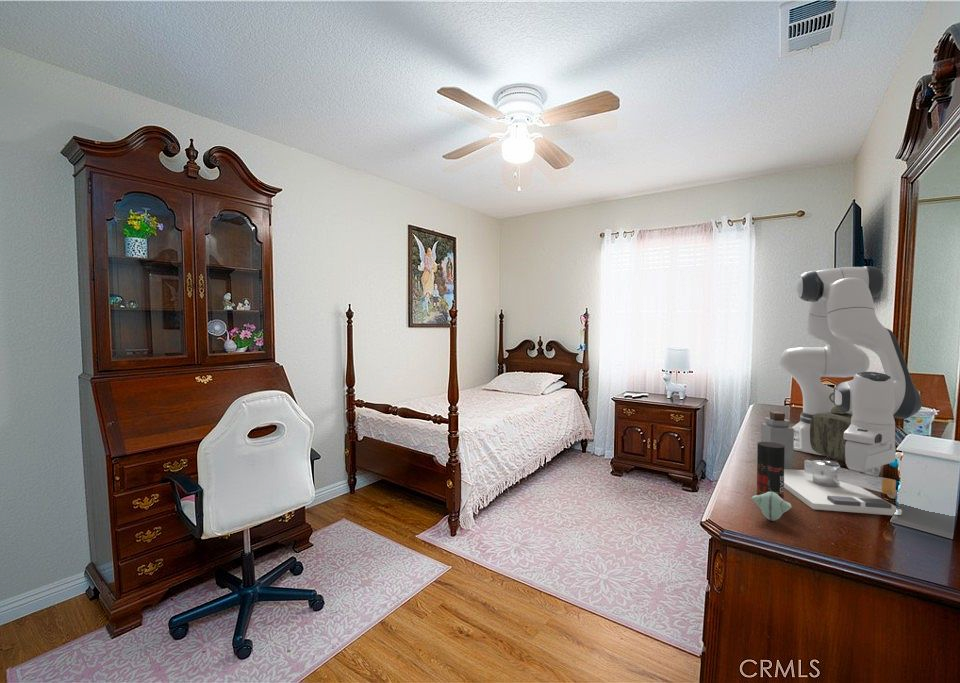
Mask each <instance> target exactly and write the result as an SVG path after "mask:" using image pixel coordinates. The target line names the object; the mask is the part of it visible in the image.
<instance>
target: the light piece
mask: <svg viewBox="0 0 960 683" xmlns="http://www.w3.org/2000/svg"><path fill="white" fill-rule="evenodd" d="M803 465H804V467H803V468H804V469H803V470H804V472H806V473H809V474H812V481H813V482H814V483H817V484H820V485H824V486H830V487H838V486H840V482H844V483H848V484H852V485H856V486H859V487H861V488H863V489H866V490H867V489H868V490H871V491H876V492H879V493H882V494H885V495H889V496H895V495H896V492H897V490H896V487H897V479H894V478H893V479H892V478H887V477H883V476H882V477H881V476H879V475H878V476H874V475H870V474H866V473H864V472H860V471H855V470H851V469H849V468H844V467H841V465H840V464H839V462H838V461H837V462H836V461H834V460H831V459H830V460H824V459H823V460H821V459H816V460H815V459H814V460H809V459H805V460H804V464H803Z"/></svg>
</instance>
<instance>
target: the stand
mask: <svg viewBox="0 0 960 683" xmlns="http://www.w3.org/2000/svg"><path fill="white" fill-rule="evenodd" d="M784 490H787V491H788V492H789V493H790V494H792V495H794V497H796V499H799V500H800V501H802V502H803V504H805V505H807V507H809V508H811V509H812V510H817V511H819V510H820V511H821V510H822V511H832V512H833V511H834V512H845V513H846V512H847V513H857V514H870V515H871V514H873V515H884V516H885V515H886V516H894V515H893V514H894V513H895V512H896V509H897V508H896V507H897V506H896V505H894V504H893V503H890V502H888V501H887V500H885V499H884V498H882V497H879V496H878V495H876V494H874V493H873V492H871V491H868V490H867V489H866V488H863V487H859V486H856V485H852V484H848V483H844V482H840V486H838V487H830V486H824V485H820V484H817V483H814V482H813V481H812V474H809V473H806V472H804V469H793V470H792V469H784Z"/></svg>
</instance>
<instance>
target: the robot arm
mask: <svg viewBox="0 0 960 683" xmlns="http://www.w3.org/2000/svg"><path fill="white" fill-rule="evenodd" d="M884 285H885V278H884V274H883V272H882V270H881V269H880V268H878V267H875V266H869V265H867V266H866V265H864V266H843V267H842V266H841V267H839V266H838V267H835V268H826V269H819V270H815V269H814V270H810V271H809V270H808V271H806V272H803V273H802V274H801V275H799V277H798V279H797V282H796V292H797V294H798V297H799V298H800V299H801V300H802V301H803V302H804V301H805V302H809V304H808V308H807V310H808V311H807V321H806V322H807V323H806V332H807V334H808V335H809V336H810V337H812V338H814V339H815V340H818V341H821V342H823V343H824V344H825V346H798V347H792V348H786V349H785V350H784V351H783V352H782V353H781V355H780V357H779V364H780V367H781V369H782V370H783V371H784V372H785V373H786V374H788V375H789V376H791V377H792V379H794V380H795V381H796V383H797V384H798V386H799V387H800V391H801V394H802V411H800V414H799V416H800V418H799V422H798V423H796V424H794V425H793V426H792V427H791V428H793V429H794V451H797V452H803V453H808V454H811V455H812V454H813V455H818V456H825V455H822V454H819V453H817V452H816V451H814V450H813V449H812V447H811V444H810V423H811V419H812V417H813V415H814V414H817V413H827V412H831V409H832V408H833V407H834V406H836V407H837V408H838V409H840V410H841V411H843V412H846V413H850V414H852V417H851V424H850V426H849V428H848V429H847V430H846V431H845V432H844V435H843V437H844V439H845V440H847V442H846V445H845V457H846V461H845V464H846V467H847V469H849V470H853V471H857V472H862V473H866V474H870V475H874V476H879V475H880V472H881V468H882V466H884V465H885V466H886V465H889V464H891V463H894V462H895V461H896V458H897V457H896V456H897V454H896V453H897V452H896V421H895V419H904V420H906V419H909V418H911V417H913V416H914V415H916V414H917V413H918V412H919V411H921V408H922V403H923V402H922V397H921V395H920V393H919V390H918V389H917V387H916V385H915V383H914V381H913V379H912V377H911V375H910V372H909V369H908V366H907V364H906V360H905V358H904V355H903V352H902V349H901V348H900V347H901V346H900V345H899V342H898V340H897V338H896V336H895V334H894V333H893V331H892V330H891V329H889V328H887V327H885V326H884V325H883V324H882V323H881V322H880V320H879V319H878V317H877V315H876V310H875V303H874V298H876V297H878V295H879V294H881V293H882V290H883V289H884ZM857 346H860V347H862V348H864V349H868V350H870V351H872V352H873V353H875V355H877V356H878V358H879V360H880V363H881V365H882V369H883V372H884V373H882V372H877V371H876V372H875V371H869V368H870V364H871V362H870V358H869V356H868V354H867V353H866V352H865V351H863V349H861V348H859V347H857ZM822 377H823V378H824V377H825V378H852V377H853V379H850V380H847V381H842V382H840V383H839V384H837V385H836V386H835V387H834V388H833V387H832V386H829V385H826V384H824V383H822V381H821V378H822ZM832 393H834V395H832V396H831V400H833V401H834V403H833V402H831V401H830V399H829V396H830V394H832ZM825 457H826V456H825Z"/></svg>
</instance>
